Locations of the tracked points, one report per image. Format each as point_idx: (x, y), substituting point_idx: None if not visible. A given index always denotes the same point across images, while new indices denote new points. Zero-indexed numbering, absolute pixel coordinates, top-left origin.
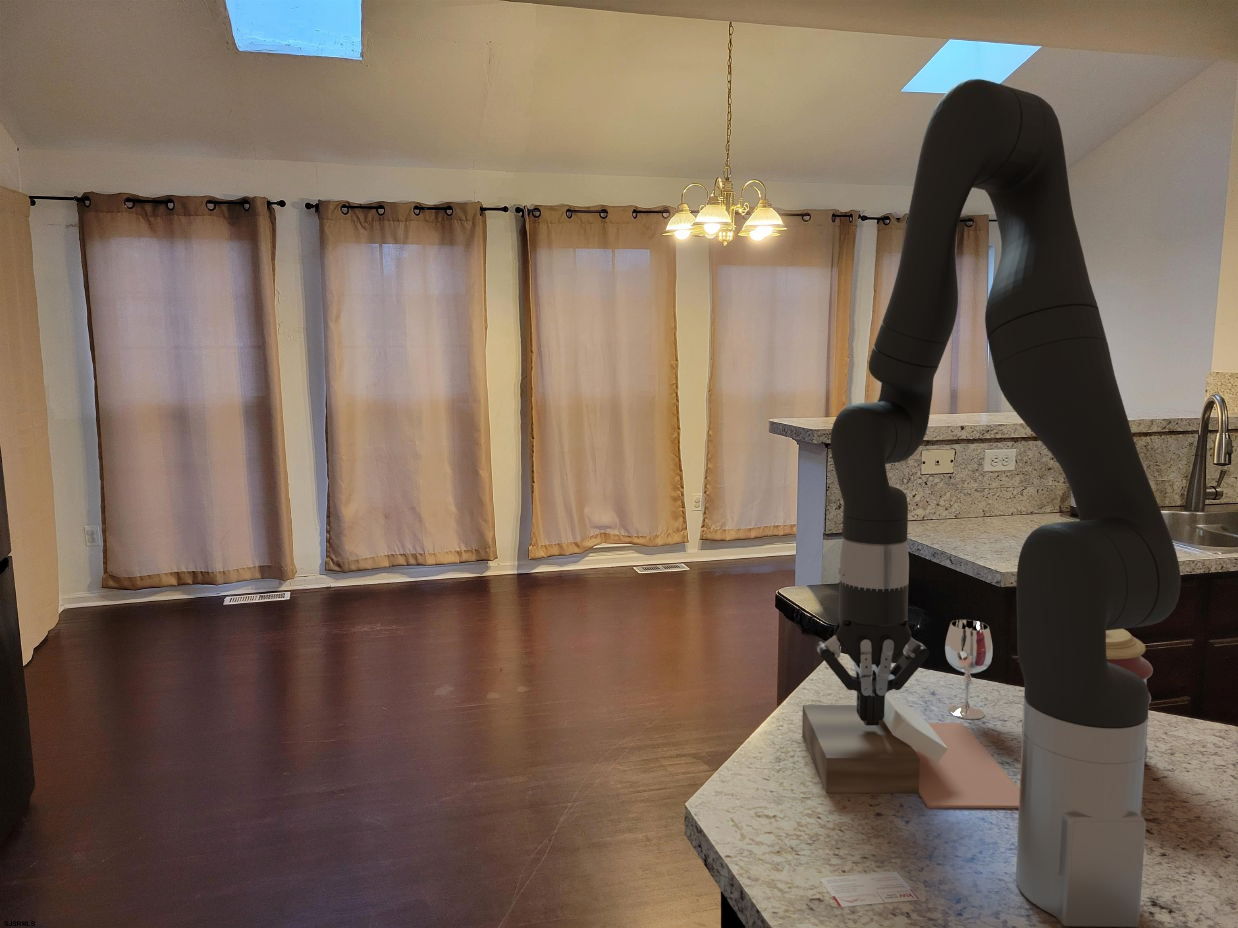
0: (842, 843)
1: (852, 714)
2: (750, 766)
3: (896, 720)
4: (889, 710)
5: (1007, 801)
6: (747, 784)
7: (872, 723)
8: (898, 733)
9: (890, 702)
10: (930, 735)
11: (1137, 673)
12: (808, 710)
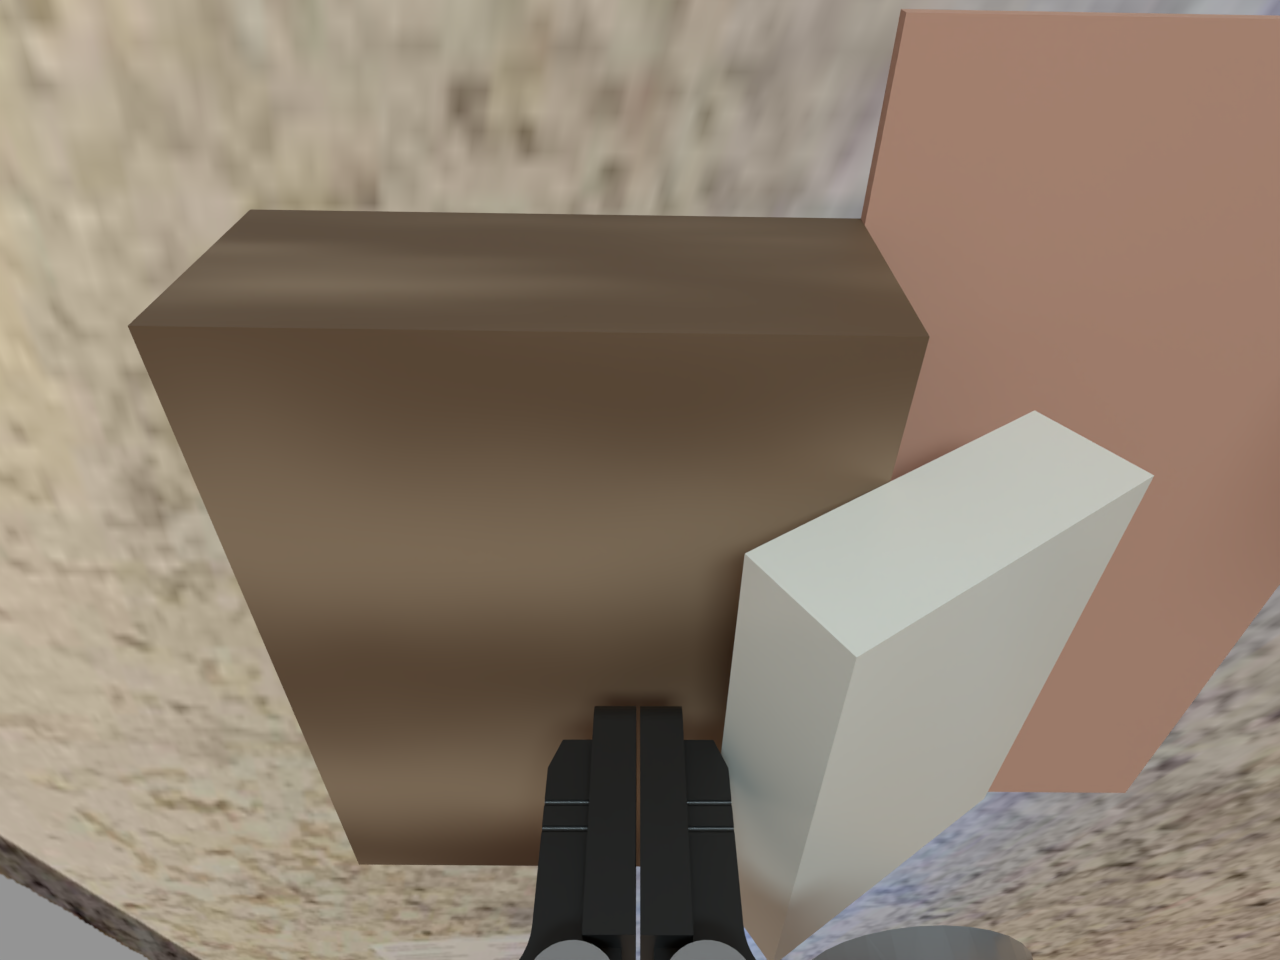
0: (434, 879)
1: (578, 501)
2: (22, 558)
3: (754, 905)
4: (769, 834)
5: (1052, 776)
6: (65, 673)
7: (636, 785)
8: None
9: (811, 830)
10: (933, 822)
11: None
12: (204, 435)
